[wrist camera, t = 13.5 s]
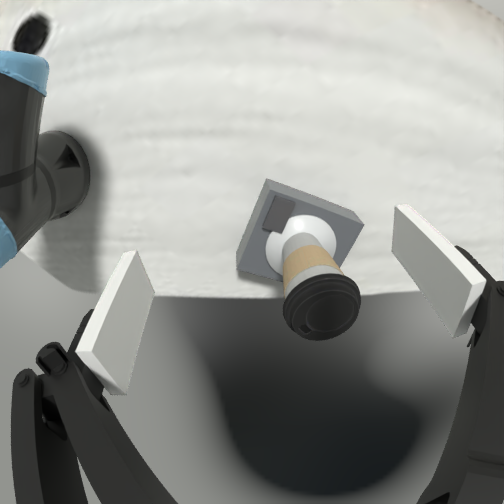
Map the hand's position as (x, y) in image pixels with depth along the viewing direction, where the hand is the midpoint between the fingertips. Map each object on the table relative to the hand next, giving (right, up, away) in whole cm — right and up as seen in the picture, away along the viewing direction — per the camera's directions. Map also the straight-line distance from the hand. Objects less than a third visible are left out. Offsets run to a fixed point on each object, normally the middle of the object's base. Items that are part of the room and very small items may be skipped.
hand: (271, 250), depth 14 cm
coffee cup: (+7, 0, +31) cm, 32 cm away
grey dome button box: (+6, +3, +36) cm, 36 cm away
